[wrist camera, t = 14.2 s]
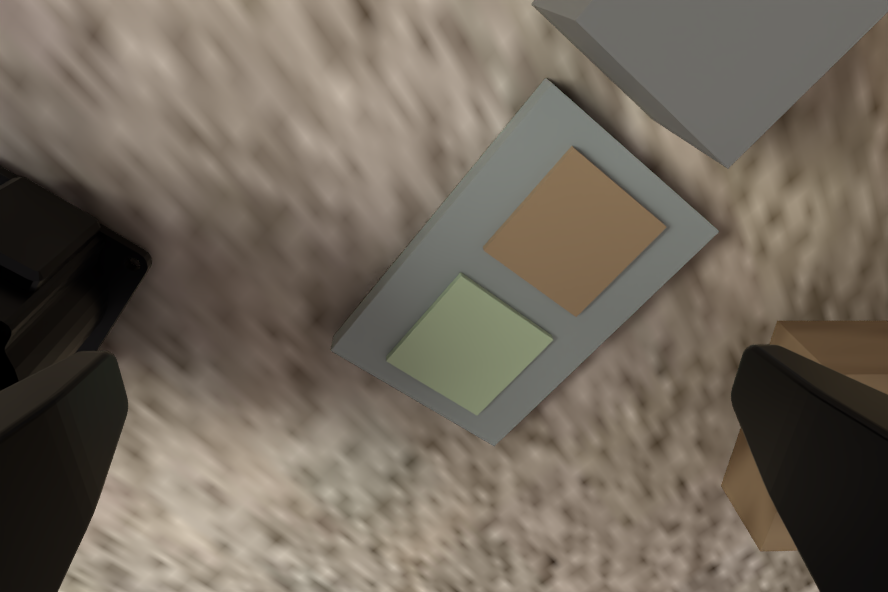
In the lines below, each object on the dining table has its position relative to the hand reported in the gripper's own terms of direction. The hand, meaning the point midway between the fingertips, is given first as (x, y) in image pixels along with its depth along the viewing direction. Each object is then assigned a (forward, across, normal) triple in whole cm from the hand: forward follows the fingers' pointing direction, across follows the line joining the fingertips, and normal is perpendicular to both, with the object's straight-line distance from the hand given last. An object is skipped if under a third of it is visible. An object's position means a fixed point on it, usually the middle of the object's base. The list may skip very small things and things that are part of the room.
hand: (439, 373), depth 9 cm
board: (+13, -4, +5) cm, 14 cm away
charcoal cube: (+13, -7, -5) cm, 16 cm away
